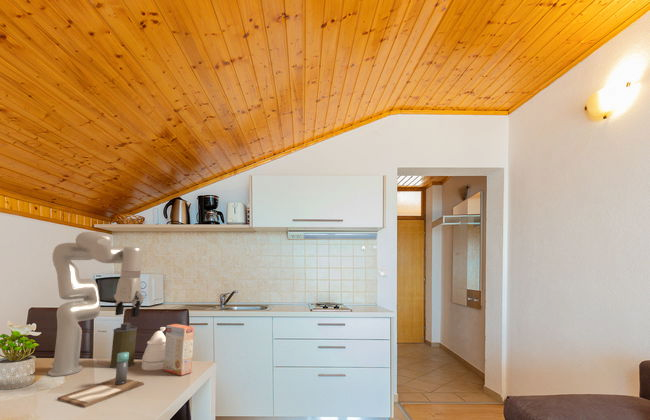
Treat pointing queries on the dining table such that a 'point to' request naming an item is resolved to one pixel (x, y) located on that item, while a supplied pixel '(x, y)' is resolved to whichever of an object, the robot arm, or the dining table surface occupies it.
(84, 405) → the writing board
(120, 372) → the marker
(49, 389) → the dining table surface
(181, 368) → the cracker box
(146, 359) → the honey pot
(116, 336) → the canister
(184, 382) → the dining table surface
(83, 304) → the robot arm
